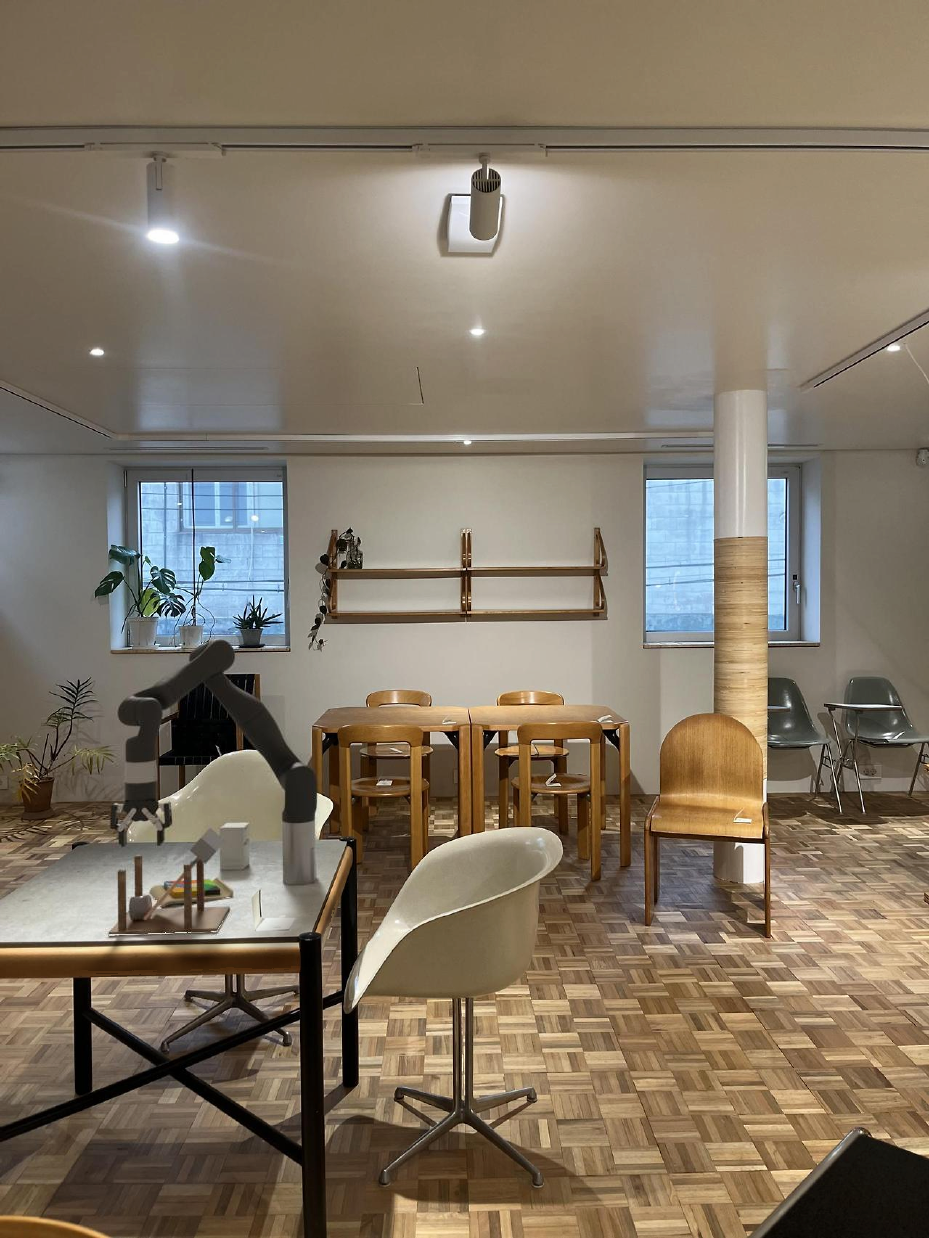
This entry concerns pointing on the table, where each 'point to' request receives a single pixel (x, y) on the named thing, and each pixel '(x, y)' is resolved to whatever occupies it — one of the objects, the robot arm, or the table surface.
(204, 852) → the trapdoor
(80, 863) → the table surface
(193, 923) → the trapdoor stand
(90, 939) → the table surface
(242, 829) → the supplement box
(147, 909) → the stubby grey cylinder
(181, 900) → the wooden puzzle
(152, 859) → the table surface
